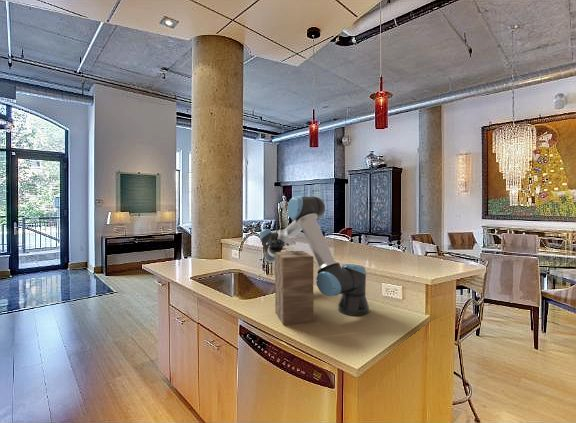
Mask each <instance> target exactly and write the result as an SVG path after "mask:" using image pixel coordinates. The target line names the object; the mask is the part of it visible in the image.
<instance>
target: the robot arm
mask: <svg viewBox="0 0 576 423" xmlns="http://www.w3.org/2000/svg"><path fill="white" fill-rule="evenodd" d="M325 212H326V204H325V202H324V201H323V199H322V198H320V197H318V196H293V197H292V198H290V199H289V201H288V204H287V207H286V213H287V216H288V217H289V218H290V219H291V220H293V221H292V222H291V223H290V224H289V225H288V226H287V227H286V228H284V229H283V230H281V229H280V228H279V230H277V232H278V233H277V232H272V230H271V229H269V228H266V229H265V228H264V229H263V230H261V231H260V232H259V238H260V242H261V244H262V246H263V247H262V248H263V251H264V259H265V261H266V262H268V263H274V262H275V252H282V251H283V248H284V246H287V247H289V246H290V245H289V244H288V243H286V242H284V241H282V240H280V239H279V238H280V236H281V232H283V233H285V234H288V235H290V236H292V237H296V236H298V234H300V232H303V234H304V237H305V239H306V241H307V243H308V244H307V245H308V246H309V249H310V251H311V254H312V256H313V259H314V260H315V263H316V266H317V267H318V269H317V271H316V273H317V276H316V286H317V289H318V291H319V292H320V293H321V294H322V295H324V296H326V297H337V296H339V295H341V296H340V299H339V302H338V304H337V306H338V311H339V312H340V313H342V314H344V315H347V316H348V315H349V316H364V315H367V314H369V312H370V306H369V303H368V299H367V296H366V295H367V294H366V287H367V286H366V285H367V284H366V282H367V279H366V278H367V274H366V273H367V272H366V270H367V269H366V267H365V266H364V265H360V264H354V263H343V264H340V262H338V261H336V260H335V258H334V256H333V255H332V252H331V250H330V247H329V246H328V243H327V241H326V239H325V237H324V234H323V231H322V230H321V227H320V225H319V223H318V220H319V219H321V218H322V217H323V216H324V214H325ZM341 265H342V266H341Z"/></svg>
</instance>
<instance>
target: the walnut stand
mask: <svg viewBox="0 0 576 423" xmlns="http://www.w3.org/2000/svg"><path fill="white" fill-rule="evenodd" d="M274 262H275V263H274V264H275V265H274V266H275V268H274V270H275V271H274V274H275V275H274V276H275V279H274V280H275V283H274V285H275V292H274V293H275V296H274V297H275V299H274V301H275V302H274V306H275V309H274V310H275V312H274V313H275V314H276V316H277V318H278V319H279V321H280V322H281V324H282V325H283V326H290V325H299V324H308V323H309V324H310V323H314V256H313V254H312V255H311V254H309V253H307V252H306V251H303V250H296V251H295V250H285V251H281V252H275V261H274Z"/></svg>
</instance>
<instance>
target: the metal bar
mask: <svg viewBox="0 0 576 423" xmlns="http://www.w3.org/2000/svg"><path fill="white" fill-rule="evenodd" d="M277 233H278V231H277ZM279 239H280V240H282V241H284V242H286V243H288V244H289V246H290V245H291V246H292V245H296V244H297V238H296V236H294V237H292V236H290V235H288V234H285V233H283V232H282V231H281V236H280V238H279Z"/></svg>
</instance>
